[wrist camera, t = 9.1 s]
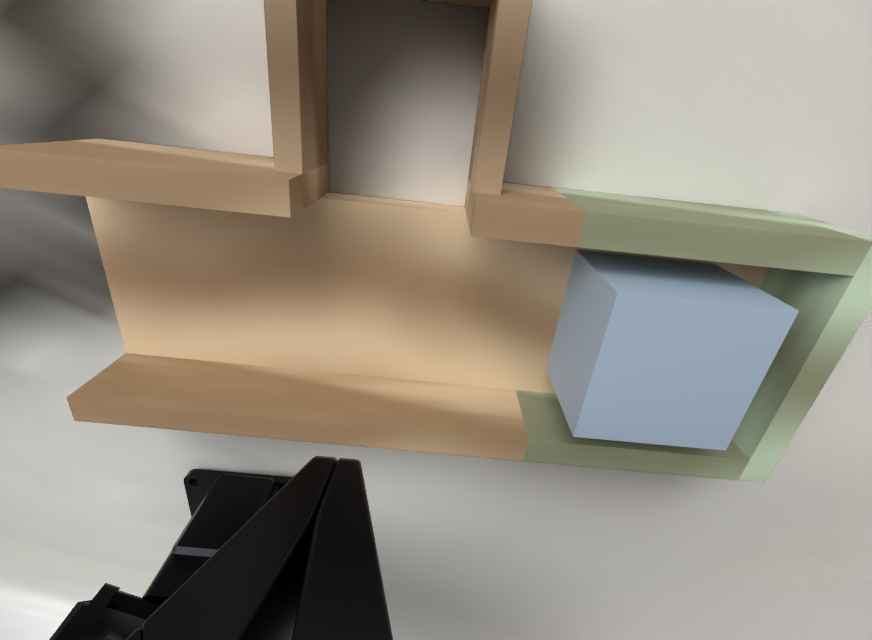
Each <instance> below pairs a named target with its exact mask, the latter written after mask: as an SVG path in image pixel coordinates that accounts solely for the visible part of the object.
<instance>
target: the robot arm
mask: <svg viewBox="0 0 872 640" xmlns="http://www.w3.org/2000/svg"><path fill="white" fill-rule="evenodd" d="M184 485H185V489H186V494H187V498H188V503H189V507H190V512H191V516H192V518H191V519H190V521H189V522H188V524H187V526H186V527H185V529H184V530H183V532H182V534H181V535H180V537H179V538H178V540H177V542H176V543H175V545H174V546H173V549H172V551H171V553H170V554H169V556H168V558H167V559H166V561H165V562H164V564H163V566H162V567H161V569H160V570H159V572H158V574H157V575H156V577H155V578H154V580H153V582H152V583H151V585H150V586H149V588H148V590H147V591H146V593H145V594H144V596H143V598H141V597H138V596H135V595H132V594H128V593H125V592H122V591H119V589H120V587H117V586H114V585H110V584H107V583H105V584H104V586H103V587H102V588H101V589H100V591H99V592H98V593H97V594H96V596H95V597H94V598H93V599H92V600H90V601H83V602H78V603H77V604H76V605H75V607H74V608H73V609H72V611H71V612H70V613H69V614H68V616H67V617H66V618H65V620H64V621H63V622H62V624H61V625H60V626H59V628H58V629H57V630H56V632H55V633H54V634H53V636H52V637H51V638H50V639H49V640H393V636H392V631H391V626H390V620H389V615H388V609H387V604H386V598H385V593H384V587H383V582H382V576H381V571H380V566H379V560H378V555H377V549H376V544H375V538H374V533H373V527H372V522H371V516H370V511H369V506H368V500H367V495H366V489H365V484H364V478H363V473H362V467H361V463H360V461H359V460H356V459H345V458H340V459H339V460H338V461H337V459H336V458H334V457H323V456H316V457H314V458H312V459H311V460H310V461H309V462H308V463H307V464H306V465H305V466H304V467H303V468H302V469H301V470H300V471H299V472H298V473H297V474H296V475H295V476H294V477H293V478H292V477H281V476H269V475H258V474H246V473H235V472H224V471H212V470H201V469H193V470H190V471H189V473H188V474H187V475H186V477H185V478H184Z"/></svg>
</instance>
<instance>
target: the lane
mask: <svg viewBox="0 0 872 640" xmlns="http://www.w3.org/2000/svg"><path fill="white" fill-rule="evenodd" d="M426 1H434V2H443V3H451V4H460V5H468V6H476V7H485V8H490V13H489V21H488V29H487V37H486V44H485V52H484V60H483V68H482V76H481V83H480V91H479V99H478V107H477V115H476V123H475V130H474V138H473V146H472V154H471V162H470V169H469V177H468V185H467V193H466V201H465V207H462V206H453V205H443V204H434V203H424V202H415V201H405V200H396V199H387V198H377V197H368V196H358V195H349V194H339V193H330V192H329V190H328V104H327V18H326V0H264V13H265V28H266V43H267V59H268V74H269V90H270V105H271V121H272V136H273V152H274V158H273V157H264V156H255V155H245V154H236V153H227V152H218V151H208V150H199V149H190V148H180V147H171V146H162V145H152V144H143V143H134V142H125V141H115V140H106V139H87V140H73V141H58V142H44V143H29V144H14V145H0V187H1V188H10V189H20V190H30V191H39V192H49V193H59V194H68V195H78V196H86V200H87V204H88V207H89V211H90V215H91V219H92V223H93V227H94V231H95V235H96V238H97V242H98V246H99V250H100V254H101V258H102V262H103V266H104V269H105V273H106V277H107V281H108V285H109V289H110V293H111V297H112V300H113V304H114V308H115V312H116V316H117V320H118V324H119V328H120V331H121V335H122V339H123V343H124V347H125V351H126V354H124V355H123V356H122V357H120V358H119V359H118V360H116V361H115V362H114V363H112V364H111V365H110V366H108V367H107V368H106V369H104V370H103V371H102V372H100V373H99V374H98V375H96V376H95V377H94V378H92V379H91V380H90V381H88V382H87V383H85V384H84V385H83V386H81V387H80V388H79V389H77V390H76V391H75V392H73V393H72V394H71V395H69V396H68V397H67V400H68V403H69V406H70V409H71V412H72V415H73V418H74V421H83V422H94V423H106V424H117V425H128V426H139V427H150V428H161V429H172V430H183V431H195V432H206V433H217V434H228V435H239V436H250V437H261V438H272V439H284V440H295V441H306V442H317V443H328V444H339V445H350V446H362V447H373V448H384V449H395V450H406V451H417V452H428V453H439V454H451V455H462V456H473V457H484V458H495V459H506V460H517V461H529V462H540V463H551V464H562V465H573V466H584V467H595V468H606V469H618V470H629V471H640V472H651V473H662V474H673V475H684V476H695V477H707V478H718V479H729V480H740V481H751V482H762V483H765V481H766V480H767V478H768V477H769V475H770V473H771V472H772V470H773V468H774V467H775V465H776V463H777V462H778V460H779V458H780V457H781V455H782V453H783V452H784V450H785V449H786V447H787V445H788V444H789V442H790V440H791V439H792V437H793V435H794V434H795V432H796V430H797V429H798V427H799V426H800V424H801V422H802V421H803V419H804V417H805V416H806V414H807V412H808V411H809V409H810V407H811V406H812V404H813V402H814V401H815V399H816V398H817V396H818V394H819V393H820V391H821V389H822V388H823V386H824V384H825V383H826V381H827V379H828V378H829V376H830V374H831V373H832V371H833V370H834V368H835V366H836V365H837V363H838V361H839V360H840V358H841V356H842V355H843V353H844V351H845V350H846V348H847V346H848V345H849V343H850V342H851V340H852V338H853V337H854V335H855V333H856V332H857V330H858V328H859V327H860V325H861V323H862V322H863V320H864V318H865V317H866V315H867V314H868V312H869V310H870V309H871V307H872V235H869V234H866V233H862V232H859V231H855V230H851V229H848V228H844V227H841V226H837V225H834V224H830V223H827V222H823V221H819V220H816V219H812V218H809V217H805V216H802V215H798V214H794V213H785V212H776V211H766V210H757V209H748V208H738V207H729V206H720V205H711V204H701V203H692V202H683V201H673V200H664V199H655V198H645V197H636V196H627V195H618V194H608V193H599V192H590V191H580V190H571V189H562V188H552V187H543V186H534V185H525V184H515V183H506V182H503V177H504V171H505V164H506V158H507V152H508V146H509V140H510V134H511V127H512V121H513V115H514V109H515V103H516V97H517V91H518V84H519V78H520V72H521V66H522V60H523V54H524V48H525V41H526V35H527V29H528V23H529V17H530V11H531V5H532V0H426ZM576 250H583V251H593V252H602V253H612V254H622V255H632V256H642V257H652V258H661V259H671V260H681V261H691V262H701V263H710V264H715V265H717V266H719V267H721V268H723V269H725V270H726V271H728V272H730V273H732V274H734V275H735V276H737V277H739V278H741V279H743V280H744V281H746V282H748V283H750V284H752V285H754V286H755V287H757V288H759V289H761V290H763V291H764V292H766V293H768V294H770V295H772V296H773V297H775V298H777V299H779V300H781V301H782V302H784V303H786V304H788V305H790V306H792V307H793V308H795V309H797V310H799V312H798V314H797V316H796V318H795V320H794V322H793V324H792V325H791V327H790V329H789V331H788V333H787V335H786V337H785V339H784V341H783V343H782V344H781V346H780V348H779V350H778V352H777V354H776V356H775V358H774V360H773V362H772V364H771V365H770V367H769V369H768V371H767V373H766V375H765V377H764V379H763V381H762V383H761V384H760V386H759V388H758V390H757V392H756V394H755V396H754V398H753V400H752V402H751V404H750V405H749V407H748V409H747V411H746V413H745V415H744V417H743V419H742V421H741V423H740V424H739V426H738V428H737V430H736V432H735V434H734V436H733V438H732V440H731V442H730V444H729V445H728V447H727V449H726V451H725V450H713V449H702V448H691V447H680V446H669V445H658V444H647V443H636V442H625V441H614V440H603V439H591V438H580V437H573V435H572V433H571V430H570V428H569V425H568V423H567V420H566V418H565V415H564V413H563V410H562V408H561V405H560V403H559V400H558V398H557V395H556V393H555V390H554V388H553V385H552V383H551V380H550V378H549V375H548V373H547V370H546V368H547V364H548V360H549V356H550V352H551V348H552V344H553V340H554V336H555V332H556V328H557V324H558V320H559V316H560V312H561V308H562V304H563V300H564V296H565V292H566V288H567V284H568V280H569V276H570V272H571V268H572V264H573V260H574V256H575V252H576Z"/></svg>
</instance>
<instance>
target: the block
mask: <svg viewBox="0 0 872 640" xmlns="http://www.w3.org/2000/svg"><path fill="white" fill-rule="evenodd" d="M798 312H799V310H797V309H795V308H793V307H792V306H790V305H788V304H786V303H784V302H782V301H781V300H779V299H777V298H775V297H773V296H772V295H770V294H768V293H766V292H764V291H763V290H761V289H759V288H757V287H755V286H754V285H752V284H750V283H748V282H746V281H744V280H743V279H741V278H739V277H737V276H735V275H734V274H732V273H730V272H728V271H726V270H725V269H723V268H721V267H719V266H717V265H715V264H710V263H701V262H691V261H681V260H671V259H661V258H652V257H642V256H632V255H622V254H612V253H602V252H593V251H583V250H576V252H575V256H574V260H573V264H572V268H571V272H570V276H569V280H568V284H567V288H566V292H565V296H564V300H563V304H562V308H561V312H560V316H559V320H558V324H557V328H556V332H555V336H554V340H553V344H552V348H551V352H550V356H549V360H548V364H547V368H546V370H547V373H548V375H549V378H550V380H551V383H552V385H553V388H554V390H555V393H556V395H557V398H558V400H559V403H560V405H561V408H562V410H563V413H564V415H565V418H566V420H567V423H568V425H569V428H570V430H571V433H572V435H573V437H580V438H591V439H603V440H614V441H625V442H636V443H647V444H658V445H669V446H680V447H691V448H702V449H713V450H725V451H726V449H727V447H728V445H729V444H730V442H731V440H732V438H733V436H734V434H735V432H736V430H737V428H738V426H739V424H740V423H741V421H742V419H743V417H744V415H745V413H746V411H747V409H748V407H749V405H750V404H751V402H752V400H753V398H754V396H755V394H756V392H757V390H758V388H759V386H760V384H761V383H762V381H763V379H764V377H765V375H766V373H767V371H768V369H769V367H770V365H771V364H772V362H773V360H774V358H775V356H776V354H777V352H778V350H779V348H780V346H781V344H782V343H783V341H784V339H785V337H786V335H787V333H788V331H789V329H790V327H791V325H792V324H793V322H794V320H795V318H796V316H797V314H798Z"/></svg>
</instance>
